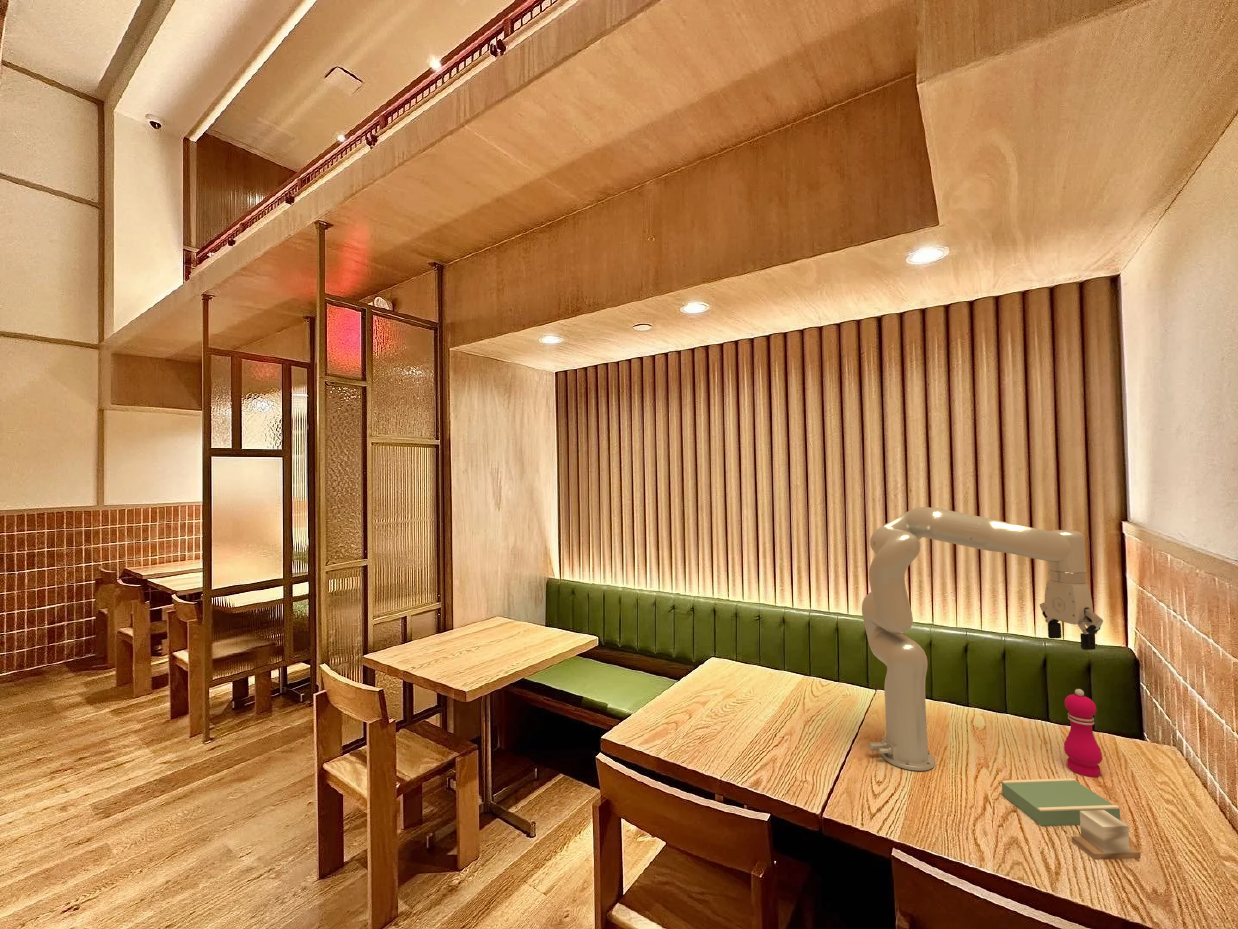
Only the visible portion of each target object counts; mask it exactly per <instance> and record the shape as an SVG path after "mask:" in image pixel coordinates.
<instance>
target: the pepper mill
mask: <svg viewBox="0 0 1238 929" xmlns="http://www.w3.org/2000/svg"><path fill="white" fill-rule="evenodd" d="M1064 707H1065V709H1067V711H1068V712H1067V719H1068V720H1070V721H1069V722H1070V730H1069V732H1068V735H1067V737H1066V739H1065V741H1064V744H1063V750H1064V753H1065V755H1066V756H1067V757H1068V758H1067V759H1066V766H1067V768H1068V769H1069V770H1070V771H1072V772H1074V773H1075V774H1078V775H1081V776H1085V777H1090V778H1096V777H1097V778H1098V777H1099V776H1101V767H1100V765H1099V764H1100V763H1101V762H1102V761H1103V752H1102V751H1101V748H1100V746H1099V744H1098V742H1097V741H1096V738H1095V736H1094V732H1093V726H1094V725H1095V718H1094V717H1093V716H1095V715H1096V713H1097V706H1096V704H1095V702H1094V701H1093V700H1092V699H1091V698H1089V697H1087V696H1086V695H1085V692H1084V690H1082V689H1081V688H1076V689H1075V690H1074V693H1073V694H1069V695H1067V696H1066V697H1065V699H1064Z"/></svg>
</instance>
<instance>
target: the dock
mask: <svg viewBox="0 0 1238 929" xmlns="http://www.w3.org/2000/svg"><path fill="white" fill-rule="evenodd" d="M1001 794H1002V796H1003V797H1004V798H1005V799H1006V800H1008V801H1009V802H1010V803H1011V804H1013V805H1014V806H1016V807H1017V808H1018V809H1019V810H1020V811H1021V812H1023V813H1024V814H1025V815H1027V816H1028V817H1029V818H1031V819H1032V820H1033V821H1034V822H1036V824H1038V825H1040V826H1041V827H1047V826H1048V827H1049V826H1079V825H1080V811H1090V810H1105V811H1106V812H1108V813H1109V814H1111V815H1112V816H1114V817H1115V818H1117V819H1118V820H1120V821H1121V814H1120V813H1121V812H1120V810H1121V809H1120V806H1118V805H1116V804H1113V803H1111V802H1110V801H1108V800H1107V799H1105V798H1104V797H1102V796H1100V795H1099V794H1097V793H1095V792H1094V791H1092V790H1091V789H1089V788H1088V787H1086V786H1085V785H1083V784H1081V783H1080V782H1078V781H1077V779H1075V777H1074V778H1070V777H1069V778H1045V779H1044V778H1043V779H1042V778H1041V779H1040V778H1039V779H1015V780H1014V779H1013V780H1001Z"/></svg>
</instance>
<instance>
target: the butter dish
mask: <svg viewBox="0 0 1238 929" xmlns="http://www.w3.org/2000/svg"><path fill="white" fill-rule="evenodd" d="M1129 832H1130V831H1129V825H1127V824H1126V823H1125V822H1123V821H1121V819H1120V820H1118V819H1117V818H1115V817H1114V816H1112V815H1111V814H1109V813H1108V812H1106V811H1105V810H1090V811H1080V835H1079V836H1078V835H1077V836H1071V837H1070V839H1071V843H1072V844H1074V846H1075V847H1078V848H1079V849H1080V850H1081V851H1083V852H1084V853H1085V854H1086V855H1088V856H1089V857H1091V858H1092V859H1093V860H1117V859H1119V860H1122V859H1124V860H1125V859H1140V858H1141V852H1140V850H1139V851H1138V850H1137V849H1136V848H1134V847H1133V846H1132V845H1130V833H1129ZM1109 858H1110V859H1109ZM1114 858H1116V859H1114Z"/></svg>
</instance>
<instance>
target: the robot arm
mask: <svg viewBox="0 0 1238 929" xmlns="http://www.w3.org/2000/svg"><path fill="white" fill-rule="evenodd" d="M923 538H925V539H930V540H934V541H939V542H944V543H949V544H954V545H958V546H963V547H966V548H967V547H969V548H972V549H978V550H982V551H986V552H987V551H989V552H996V553H1003V554H1005V553H1006V554H1010V555H1011V554H1012V555H1017V556H1021V557H1025V558H1029V559H1033V560H1040V561H1046V562H1048V563H1047V564H1048V572H1047V573H1048V578H1049V579H1047V581H1046V584H1045V589H1044V590H1045V591H1044V602H1042V603H1039V607H1040V610H1041V613H1042V616H1043V617H1044V620H1045V622H1046V623H1047V636H1048V639H1051V640H1054V639H1062V624H1061V623H1060V622H1062V623H1066V624H1071V625H1073V626H1074V625H1077V626H1078V628H1079V629H1080V631H1081V633H1080V634H1079V635H1080V648H1081V650H1083V651H1085V650H1086V651H1088V650H1089V651H1092V650H1096V635H1097V634H1098V632H1099V631H1100V630H1101V627H1102V626H1103V623H1104V620H1103V618H1101V617H1100V616H1099V615H1098V614H1097V613H1095V612H1094V607H1093V598H1092V595H1091V591H1090V588H1089V585H1088V581H1087V564H1086V562H1087V560H1086V559H1087V558H1086V546H1085V545H1086V544H1085V541H1086V540H1085V536H1084V534H1083V533H1082V532H1080V531H1078V530H1070V529H1068V530H1067V529H1054V530H1053V529H1052V530H1050V531H1049V530H1045V529H1041V528H1036V527H1030V526H1026V525H1025V526H1024V525H1019V524H1015V523H1010V522H1005V521H1002V520H997V519H994V518H988V517H985V516H978V515H973V514H968V513H964V512H958V511H954V510H948V509H945V508H944V509H943V508H939V507H928V506H927V507H926V506H918V507H915V508H912V509H911V510H908V511H906V512H904V513H903V514H901V515H899V516H898V517H896V518H894V519H892V520H891V521H888V522H887V523H885V524H883V525H881V526H880V527H878V528H877V529H876V530H874V532H872V534H871V536H870V540H869V543H870V548H871V550H872V552H874V553H875V555H874V558H873V559H872V561H871V563H870V565H869V568H868V569H869V570H868V582H869V586H870V592H869V593H868V594H866V595H865V596H864V598H863V600H862V604H861V615H862V620H863V623H864V627H865V628H864V629H865V633H866V638H867V642H868V644H869V648H870V650H871V652H872V654H873V655H874V657H876V659H878V660H879V661H880V662H882V663H883V664H884V665H885V666H886V674H885V679H884V706H885V708H884V709H885V710H884V711H885V731H886V736H882V740H880V741H878V742H876V741H868V743H867V745H868V749H869V750H870V751H878V754H879V755H881V757H882V758H883V759H884V760H885V761H886V762H888V763H889V764H891V765H893V766H894V767H898V768H901V769H905V770H909V771H914V772H915V771H918V772H919V771H920V772H923V771H929V770H931V769H933V768H934V767H935V766H936V760H935V759H936V758H935V757H934V756H933V754H932V753H931V752H929V748H928V727H927V725H928V723H927V705H926V704H927V703H926V702H927V701H926V678H927V672H928V656H927V655H926V652H925V650H924V649H923V648H922V647H921V645H920V644H918V642H916V641H915V640H913V639H912V638H910V637H909V636H906V635H904V634H905V633H907V632H908V631H910V630H911V628H912V626H913V622H914V620H913V619H914V618H913V617H914V616H913V612H912V609H911V608H912V607H911V604H910V600H909V596H908V592H907V587H906V580H905V578H906V577H905V576H906V571H907V570H908V568H909V566H910V565H911V564H912V563H913V561H914V560H916V558H917V557H918V556H919V553H920V552H921V544H920V540H921V539H923Z"/></svg>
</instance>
